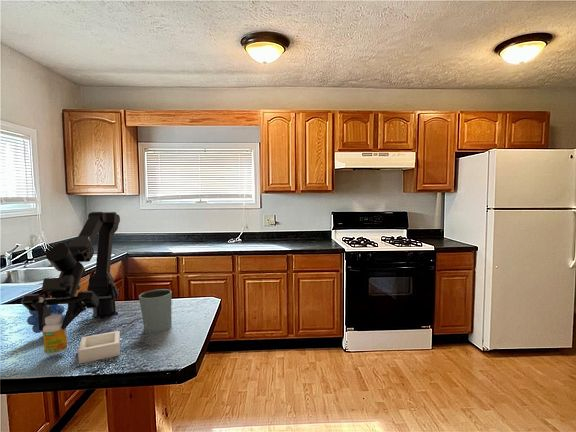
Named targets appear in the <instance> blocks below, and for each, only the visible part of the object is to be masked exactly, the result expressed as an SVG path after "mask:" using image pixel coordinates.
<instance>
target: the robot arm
mask: <svg viewBox="0 0 576 432" xmlns="http://www.w3.org/2000/svg"><path fill="white" fill-rule="evenodd" d="M120 222H121V217H120V215H119V214H117V212H116V211H91V212H89V213H88V217H87V219H86V221H85V223H84V225H83V227H82V229H81V230H80V232H79V234H78V236H77V237H76V238H74V239H73V240H71V241H70V242H69V243H66V242H58V244H57V245H56V246H53V247H52V248H50V249H48V250H49V251H47V252H46V254H45V257H46V259H47V260H48V262H49V263H50V264H51V265H52V267H54V269H55V270H56V271H57V272H59V275H58V277H50V278H49V277H48V278H43V280H42V288H41V291H45V292H47V293H46V294H47V295H48V296H50V297H49V298H48V297H44V296H43V295H41V293H33V294H32V293H31V294H26V295H25V294H24V296H23V297H22V299H21V301H20V304H21V305H22V306H23V307H25V308H26V309H27V310H28V312H29V311H32V312H35V311H38V320H39V330H40V331H42V330H43V327H44V326H45V325H46V324H45V318H46V317H48V316H50V315H51V313H52V311H51V310H50V309H49V305H56V304H58V305H67V310H66V312H65V317H64V320H63V323H62V327H61V328H62V329H65V328H66V329H67V327H68V326H69V325H70V324H71V323H72V322H73V321H74V320H75V319H76V318H77V317H78V316H80V314H81V313H82V312H85V311H87V309H92V312H93V313H92V316H93V317H95V318H98V319H105V318H108V317H111V316H115V315H117V314H119V312H118V311H116V299H119V295H120V293H119V288H118V287H117V286H116V284H115V279H114V277H113V276H112V274H111V266H112V265H111V263H112V253H113V252H112V249H113V238H114V235H115V233H116V232H117V231H118V230H119V225H120ZM97 236H98V239H97V240H98V241H97V249H96V251H97V252H96V261H95V262H96V264H95V272H94V273H93V274H92V276H89V278H88V284H87V290H83V291H80V290H81V286H80V283H81V278H82V276H83V275H85V274H86V273H87V272H86V269H85V267H84V265H83V264H82V263H88V262H90V261H91V260H92V259H93V257H94V254H95V249H94V247H93V245H94V242H95V241H96V238H97ZM77 291H79V292H78V293H77Z"/></svg>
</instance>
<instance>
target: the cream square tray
mask: <svg viewBox="0 0 576 432" xmlns="http://www.w3.org/2000/svg"><path fill="white" fill-rule="evenodd" d="M120 334H121V333H120V330H115V331H110V332H105V333H98V334H93V335H86V336H82V337H81V340H80V343H79V347H78V349H77V355H78V364H83V363H88V362H93V361H98V360H103V359H108V358H112V357H118V356H121V336H120Z"/></svg>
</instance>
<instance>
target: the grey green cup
mask: <svg viewBox="0 0 576 432" xmlns="http://www.w3.org/2000/svg"><path fill="white" fill-rule="evenodd" d="M172 293H173V292H172V290H171V289H166V288H161V289H158V288H157V289H151V290H148V291H144V292H141V293H140V294H139V295H138V299H139V305H140V312H141V317H142V324H143V331H144V332H145V333H146V334H153V335H154V334H160V333H165V332H167V331H169V330H171V328H172V325H173V324H172V311H173V310H172V304H173V303H172V302H173V301H172V298H173V297H172V296H173V295H172Z"/></svg>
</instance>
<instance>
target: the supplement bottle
mask: <svg viewBox="0 0 576 432" xmlns="http://www.w3.org/2000/svg"><path fill="white" fill-rule="evenodd" d="M62 323H63V322H62V315H60V314H57V315H51V316H48V317H46V318H45V324H46V325H45V326H44V327H43V333H42V338H43V339H42V340H43V350H44V351H43V352H44V355H48V356H50V355H51V356H52V355H57V354H60V353H63V352H65V351H66V350H67V349H68V336H67V334H68V333H67V327H66V328H65V329H62V328H61V327H62Z"/></svg>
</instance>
